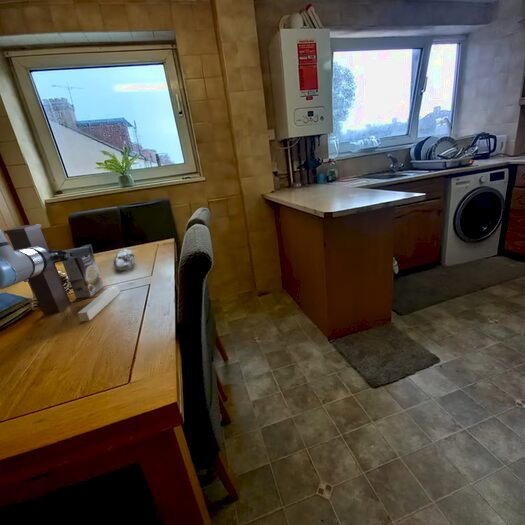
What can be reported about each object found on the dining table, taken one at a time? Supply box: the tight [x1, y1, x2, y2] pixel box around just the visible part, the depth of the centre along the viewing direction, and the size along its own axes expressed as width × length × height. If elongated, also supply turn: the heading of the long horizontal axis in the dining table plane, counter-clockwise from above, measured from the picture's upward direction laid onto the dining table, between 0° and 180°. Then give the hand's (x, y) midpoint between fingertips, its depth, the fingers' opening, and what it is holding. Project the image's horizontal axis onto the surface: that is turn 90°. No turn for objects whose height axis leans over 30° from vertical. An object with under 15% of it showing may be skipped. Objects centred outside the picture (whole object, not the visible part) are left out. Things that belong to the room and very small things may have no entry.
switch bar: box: [77, 284, 121, 322], centre depth 97 cm, size 3×20×3 cm, turn 0°
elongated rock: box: [113, 248, 135, 271], centre depth 143 cm, size 35×5×10 cm
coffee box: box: [61, 253, 105, 299], centre depth 107 cm, size 9×6×16 cm
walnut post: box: [2, 223, 72, 315], centre depth 94 cm, size 7×7×30 cm
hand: (68, 251), depth 91 cm, fingers open, 13 cm apart
